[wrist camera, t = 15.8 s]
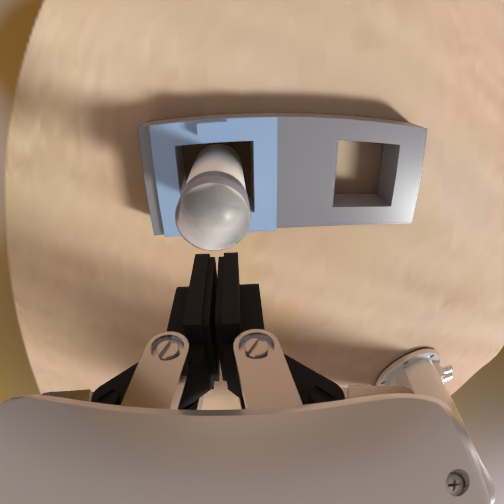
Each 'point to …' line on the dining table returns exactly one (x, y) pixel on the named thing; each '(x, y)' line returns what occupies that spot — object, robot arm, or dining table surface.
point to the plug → (214, 200)
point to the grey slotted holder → (288, 167)
